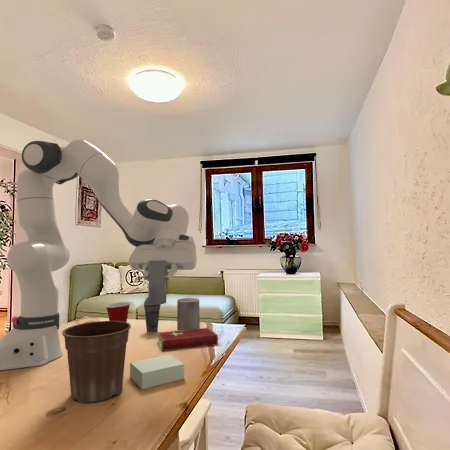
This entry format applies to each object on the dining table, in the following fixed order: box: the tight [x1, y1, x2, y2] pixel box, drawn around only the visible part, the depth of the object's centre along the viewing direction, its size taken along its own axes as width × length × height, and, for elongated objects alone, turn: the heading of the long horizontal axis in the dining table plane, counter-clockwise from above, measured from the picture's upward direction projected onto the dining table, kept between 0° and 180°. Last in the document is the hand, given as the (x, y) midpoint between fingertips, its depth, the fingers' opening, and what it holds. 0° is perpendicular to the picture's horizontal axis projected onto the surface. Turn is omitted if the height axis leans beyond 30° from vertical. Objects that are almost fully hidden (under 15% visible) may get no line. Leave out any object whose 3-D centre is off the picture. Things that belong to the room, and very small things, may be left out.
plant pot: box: [62, 320, 132, 404], centre depth 84 cm, size 16×16×16 cm
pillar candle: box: [176, 296, 201, 331], centre depth 145 cm, size 10×10×15 cm
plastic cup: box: [104, 301, 131, 323], centre depth 147 cm, size 11×11×12 cm
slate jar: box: [147, 260, 167, 305], centre depth 95 cm, size 5×5×12 cm
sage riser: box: [129, 354, 185, 390], centre depth 93 cm, size 12×10×4 cm
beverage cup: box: [143, 296, 162, 334], centre depth 145 cm, size 7×7×20 cm
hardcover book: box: [156, 327, 219, 351], centre depth 127 cm, size 12×21×4 cm, turn 110°
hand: (156, 278), depth 95 cm, fingers closed on slate jar, 5 cm apart
